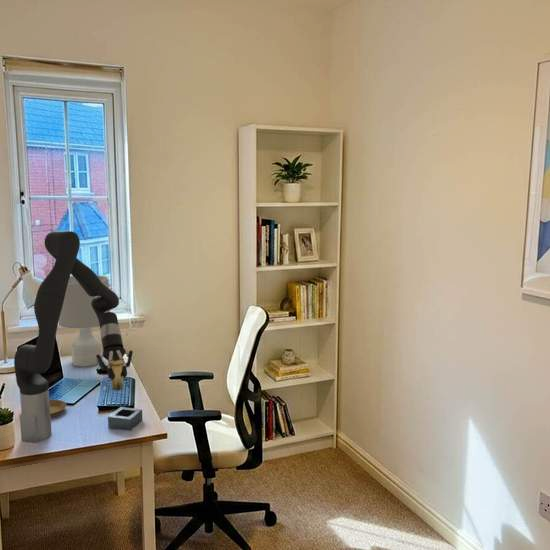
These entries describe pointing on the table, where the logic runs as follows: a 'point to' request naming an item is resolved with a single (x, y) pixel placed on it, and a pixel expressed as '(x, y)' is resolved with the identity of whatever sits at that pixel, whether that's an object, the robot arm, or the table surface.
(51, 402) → the plant saucer
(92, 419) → the table surface
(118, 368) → the brass flared peg
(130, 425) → the box
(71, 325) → the lamp
